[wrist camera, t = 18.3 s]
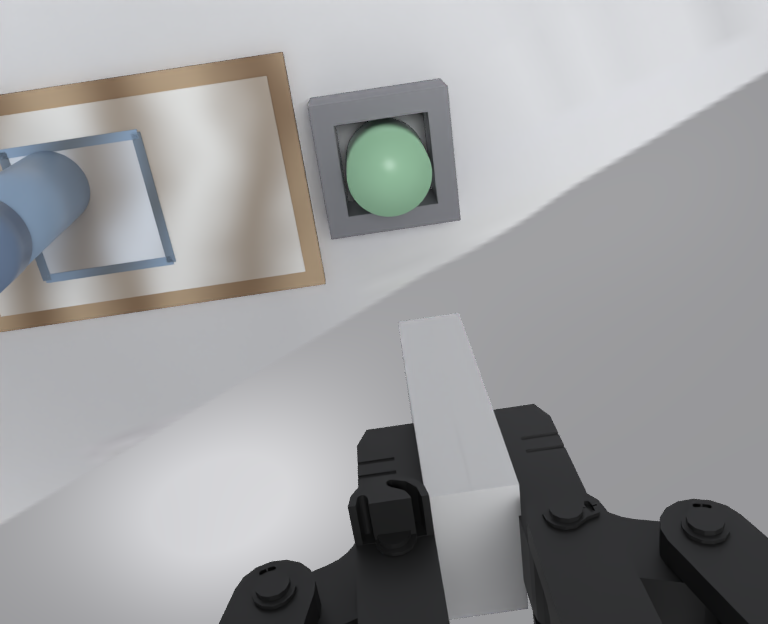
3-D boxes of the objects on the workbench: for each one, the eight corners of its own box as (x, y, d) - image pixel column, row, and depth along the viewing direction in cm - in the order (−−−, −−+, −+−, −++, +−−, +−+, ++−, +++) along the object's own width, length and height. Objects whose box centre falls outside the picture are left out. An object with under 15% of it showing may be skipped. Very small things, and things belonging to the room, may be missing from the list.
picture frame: (-5, 329, 43) (-11, 335, 43) (-95, 109, 38) (-103, 111, 37) (325, 280, 43) (325, 285, 42) (282, 51, 38) (281, 53, 37)
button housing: (332, 222, 42) (331, 239, 39) (310, 98, 39) (307, 106, 36) (452, 204, 41) (460, 220, 39) (440, 78, 38) (447, 85, 36)
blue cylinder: (27, 229, 40) (-73, 313, 30) (0, 156, 38) (-116, 220, 28) (101, 217, 40) (23, 298, 30) (77, 144, 38) (-13, 204, 28)
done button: (352, 200, 40) (353, 222, 36) (340, 124, 38) (340, 139, 35) (427, 189, 40) (436, 210, 36) (419, 112, 38) (427, 126, 35)
